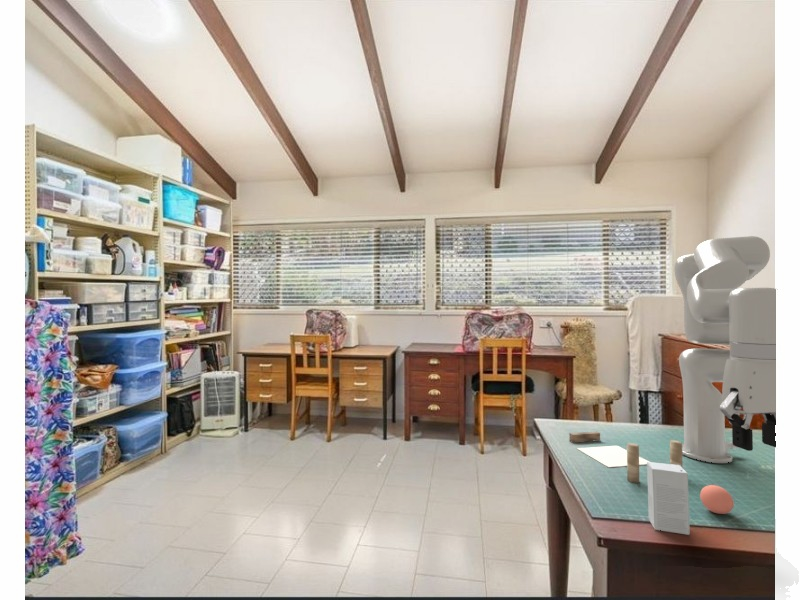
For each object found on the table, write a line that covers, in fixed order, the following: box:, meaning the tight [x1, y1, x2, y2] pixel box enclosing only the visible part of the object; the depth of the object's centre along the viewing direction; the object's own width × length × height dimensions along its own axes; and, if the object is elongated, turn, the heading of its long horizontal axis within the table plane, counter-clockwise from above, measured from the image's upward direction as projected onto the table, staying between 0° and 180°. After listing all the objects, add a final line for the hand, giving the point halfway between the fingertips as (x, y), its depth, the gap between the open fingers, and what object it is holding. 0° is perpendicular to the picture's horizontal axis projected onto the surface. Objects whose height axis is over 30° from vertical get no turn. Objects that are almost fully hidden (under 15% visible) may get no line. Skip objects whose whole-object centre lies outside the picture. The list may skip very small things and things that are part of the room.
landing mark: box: [576, 445, 650, 469], centre depth 112 cm, size 14×14×1 cm
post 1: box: [626, 442, 640, 484], centre depth 96 cm, size 3×3×9 cm
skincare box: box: [646, 461, 691, 536], centre depth 76 cm, size 6×4×12 cm
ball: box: [699, 484, 735, 515], centre depth 81 cm, size 6×6×6 cm
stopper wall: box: [569, 431, 601, 443], centre depth 125 cm, size 10×2×2 cm, turn 99°
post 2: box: [669, 439, 684, 469], centre depth 98 cm, size 3×3×9 cm
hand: (757, 446), depth 72 cm, fingers open, 6 cm apart
